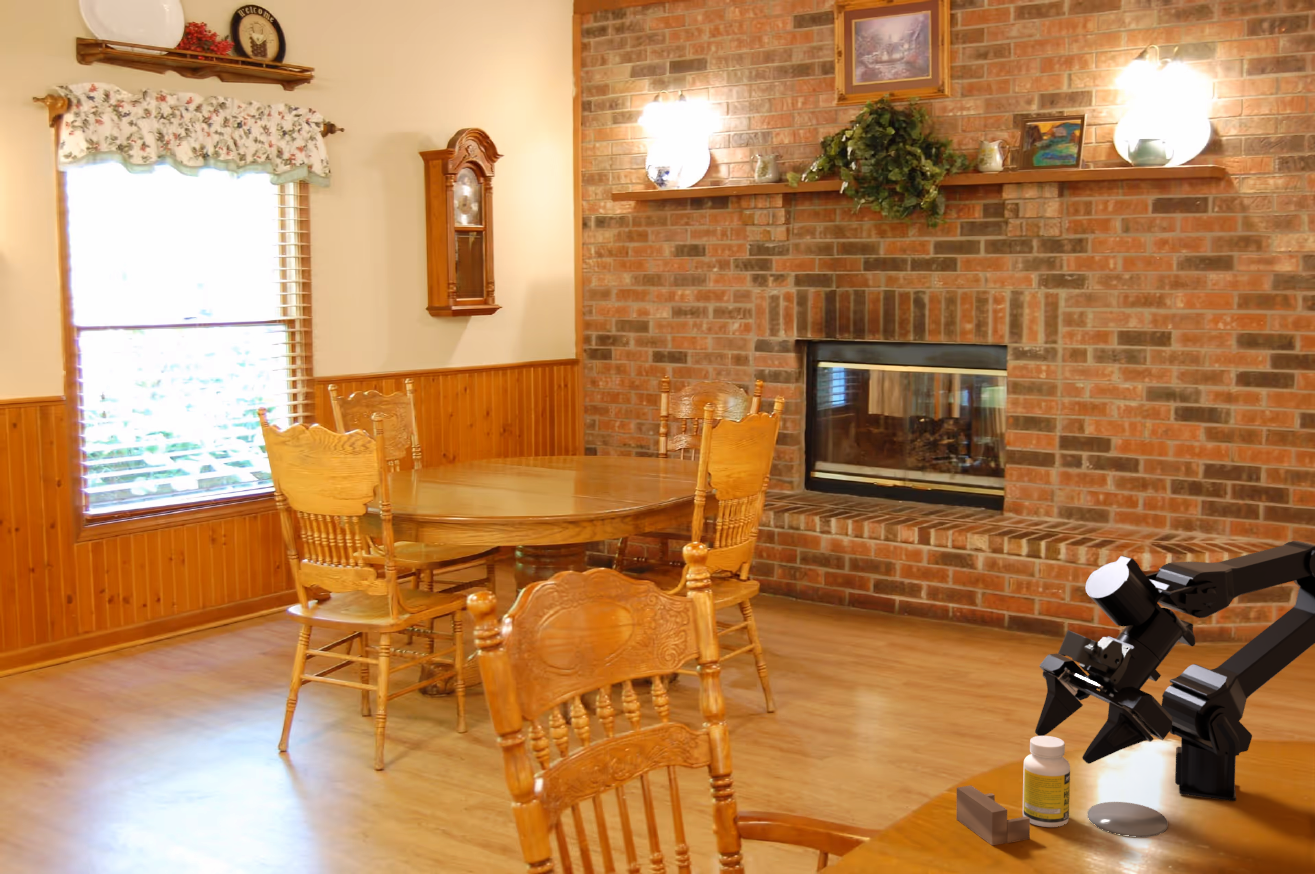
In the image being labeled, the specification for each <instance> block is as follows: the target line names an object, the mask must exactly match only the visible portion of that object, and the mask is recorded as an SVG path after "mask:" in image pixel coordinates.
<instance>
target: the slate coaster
mask: <svg viewBox="0 0 1315 874" xmlns="http://www.w3.org/2000/svg"><path fill="white" fill-rule="evenodd" d="M1087 810H1088V811H1087V819H1088V818H1089V820H1090V821H1091V822H1092V823H1093V824H1095V825H1096V826H1097V827H1096V826H1095V827H1096V828H1098V827H1099V828H1098V829H1100V830H1102V829H1103V830H1102V831H1103V832H1104V831H1105V832H1107V831H1109V832H1108V833H1110V832H1111V833H1110V834H1113V833H1116V834H1115V835H1117V834H1120V835H1119V836H1123V835H1129V836H1128V837H1130V836H1136V837H1135V838H1144V837H1145V838H1146V837H1154V836H1157V835H1161V834H1163V833H1164V832H1165V831H1166V830H1167V829H1168V819H1167V817H1166V816H1165V815H1164V814H1163V813H1161V812H1159V811H1158V810H1156V809H1154V808H1151V807H1149V806H1145V805H1141V804H1138V803H1133V802H1126V801H1107V802H1106V801H1105V802H1100V803H1097V804H1095V805H1093V806H1091V807H1090V808H1089V809H1087ZM1089 820H1088V821H1089ZM1090 821H1089V822H1090ZM1091 822H1090V823H1091ZM1092 823H1091V824H1092ZM1093 824H1092V825H1093ZM1160 833H1161V834H1160Z"/></svg>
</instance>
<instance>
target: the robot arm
mask: <svg viewBox="0 0 1315 874" xmlns="http://www.w3.org/2000/svg"><path fill="white" fill-rule="evenodd" d="M1290 582H1293V583H1294V584H1295V585H1296V586H1298V587H1299V588H1298V590H1297V595H1296V600H1295V604H1294V606H1293V607H1291V608H1290V609H1289V610H1288V611H1287V612H1285V613H1284V614H1283V615H1281V617H1279V618H1278V619H1277V620H1275V621H1274V622H1273V623H1271V624H1270V625H1269V626H1268V627H1267V628H1265V629H1264V630H1262V631H1261V632H1260V633H1259V634H1257V635H1256V636H1255V637H1254V638H1252V639H1251V640H1250V641H1248V643H1247V644H1245V645H1244V646H1243V647H1241V648H1239V650H1238V651H1236V652H1235V653H1234V654H1232V655H1231V656H1230V657H1229V658H1227V659H1225V661H1223V662H1222V663H1221V664H1220V665H1218V666H1216V668H1212V669H1210V668H1206V667H1204V666H1202V665H1200V664H1196V663H1194V664H1191V665H1189V666H1187V668H1186V669H1185V670H1183V672H1182V673H1180V674H1179V675H1178V676H1177V677H1175V678H1171V679H1169V683H1171V684H1170V685H1169V686H1167V688H1166V689H1165V690H1164V692H1163V693H1162V696H1161V697H1162V700H1161V703H1159V701H1158V700H1157V699H1156V698H1155V697H1154V696H1153V695H1152V694H1150V693H1148V692H1145V691H1144V690H1141V689H1142V688H1143V686H1144V685H1145V684H1146V683H1147V681H1148V680H1151V681H1153V682H1157V681H1158V680H1159V679H1160V678H1161V676H1162V675H1161V673H1160V672H1159V671H1157V669H1158V667H1159V666H1160V665H1161V663H1162V662H1164V659H1166V658H1167V656H1168V655H1169V653H1170V652H1171V651H1172V650H1173V648H1174V647H1175V646H1176V644H1177V643H1181V644H1183V645H1186V646H1189V647H1194V646H1196V637H1195V634H1194V624H1193V623H1191V622H1188V621H1186V620H1183V619H1180V617H1178V616H1177V614H1176V613H1174V611H1177V612H1178V613H1179V612H1180V613H1183V614H1185V615H1188V616H1192V617H1195V618H1198V619H1203V618H1205V619H1206V618H1208V617H1210V616H1213V615H1215V614H1216V613H1218V612H1221V611H1222V610H1224V609H1227V608H1228V607H1229V606H1230V605H1231V603H1232V601H1233V600H1234V599H1236V598H1238V597H1239V596H1242V595H1246V594H1249V593H1250V594H1251V593H1253V592H1257V591H1260V590H1265V589H1269V588H1273V587H1275V586H1276V587H1277V586H1280V585H1283V584H1287V583H1290ZM1085 593H1087V595H1088V596H1089V598H1091V599H1092V601H1093V602H1094V603H1095V604H1096V605H1097V606H1098V607H1099V608H1100V610H1101V611H1102V612H1103V613H1104V614H1105V615H1106V616H1107V617H1108V618H1109V619H1110V620H1111V621H1112V622H1113V624H1115V625H1116V626H1118V627H1124V628H1123V629H1122V631H1121V632H1120V633H1119V634H1118V635H1117V637H1116V638H1114V637H1111V636H1109V635H1108V636H1102V637H1101V639H1100V640H1099V641H1096V640H1093V639H1091V638H1088V637H1086V636H1084V635H1081V634H1079V633H1076V632H1074V631H1071V630H1069V629H1068V630H1067V631H1066V633H1065V636H1064V638H1063V641H1062V643H1061V645H1060V648H1059V650H1058V653H1057V652H1056V653H1049V654H1047V655H1046V657H1045V658H1044V659H1043V661H1041V663H1040V664H1039V669H1041V670H1042V671H1043V672H1042V677H1043V678H1044V679H1045V682H1046V688H1047V691H1046V696H1045V699H1044V704H1043V706H1042V709H1041V711H1040V712H1041V713H1040V716H1039V717H1038V721H1037V724H1036V727H1035V730H1034V733H1035V734H1036V736H1047V734H1049V733H1050V732H1052V731H1053V730H1055V728H1057V727H1059V725H1060V724H1062V723H1063V722H1064V721H1066V720H1067V719H1069V717H1071V716H1072V715H1073V714H1074V713H1076V712H1077V711H1078V710H1079V709H1081V708H1082V707H1083V706H1084V704H1083V703H1082V702H1081V701H1083V700H1085V699H1088V698H1089V697H1090V696H1092V697H1094V698H1096V699H1099V700H1101V701H1103V702H1105V703H1107V704H1108V711H1107V713H1108V714H1107V719H1106V721H1105V723H1104V724H1103V726H1102V727H1101V728H1100V730H1099V731H1098V732H1097V734H1096V735H1095V737H1094V738H1093V739H1092V741H1091V742H1090V744H1089V745H1088V746H1087V748H1086V750H1085V752H1084V753H1083V755H1082V760H1083V761H1084V762H1085V763H1086V764H1092V763H1094V762H1097V761H1099V760H1101V759H1104V758H1106V757H1107V756H1110V755H1113V754H1115V753H1117V752H1119V751H1121V750H1123V749H1126V748H1129V747H1133V746H1135V745H1137V744H1141V743H1142V742H1145V741H1148V742H1152V741H1153V740H1154V737H1155V738H1157V739H1159V740H1161V741H1164V739H1165V738H1166V737H1167V736H1168V735H1169V733H1170V734H1171V735H1174V736H1177V737H1179V738H1181V739H1180V740H1181V741H1180V742H1181V743H1180V746H1176V747H1175V769H1174V770H1175V776H1174V778H1175V779H1174V781H1175V782H1174V783H1175V784H1176V785H1178V794H1179V795H1182V796H1191V797H1198V798H1204V799H1205V798H1207V799H1214V800H1221V801H1230V802H1235V801H1236V800H1237V795H1236V794H1237V793H1236V785H1235V784H1236V781H1235V780H1236V758H1237V756H1240V753H1244V752H1248V750H1249V749H1250V745H1251V741H1252V738H1253V734H1252V733H1251V732H1250V731H1249V730H1248V729H1247V727H1245V725H1244V724H1242V723H1241V720H1242V718H1243V716H1244V712H1245V707H1246V704H1247V699H1248V698H1249V697H1250V696H1252V695H1253V694H1254V693H1255V692H1256V691H1258V690H1259V689H1260V688H1261V687H1263V686H1264V685H1266V683H1268V682H1269V681H1270V680H1272V678H1274V677H1275V676H1276V675H1277V674H1279V673H1280V672H1282V670H1284V669H1285V668H1286V667H1287V666H1289V665H1290V664H1291V663H1293V662H1294V661H1295V660H1296V659H1297V658H1299V657H1300V656H1301V655H1302V654H1303V653H1305V652H1306V651H1307V650H1309V649H1311V647H1312V646H1314V645H1315V544H1312V543H1309V542H1304V541H1302V540H1301V541H1300V540H1292V541H1288V542H1285V543H1284V544H1283V545H1280V546H1275V547H1271V548H1269V549H1264V550H1260V551H1255V552H1253V553H1249V554H1245V555H1241V556H1238V557H1234V558H1233V557H1232V558H1229V559H1225V560H1221V561H1219V562H1207V561H1206V562H1204V561H1203V562H1202V561H1176V562H1175V561H1174V562H1168V563H1166V564H1163V565H1162V566H1161V567H1159V569H1158V571H1156V572H1151V573H1148V574H1145V572H1143V570H1142V569H1141V568H1140V565H1139V563H1137V561H1136V560H1135V559H1134V558H1133V557H1129V556H1125V555H1120V557H1118V559H1117V560H1116V561H1114V562H1110V563H1106V564H1104V565H1102V566H1100V567H1099V568H1098V569H1097V570H1093V571H1092V573H1091V574H1090V575H1089V577H1088V579H1087V580H1086V583H1085ZM1160 605H1161V606H1160ZM1069 657H1070V658H1069ZM1077 663H1078V664H1077ZM1086 673H1087V674H1086Z"/></svg>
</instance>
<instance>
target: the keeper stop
mask: <svg viewBox="0 0 1315 874" xmlns="http://www.w3.org/2000/svg"><path fill="white" fill-rule="evenodd" d="M995 800H996V797H995V794H994V793H992V792H991V793H983V792H982V791H980V790H978V789H977V788H975V787H974V786H973V785H965V786H964V785H963V786H960V787H959V786H957V787H956V820H957V821H958V822H960V823H961V824H962V825H964V826H965V827H966V828H968V829H969V830H970V831H972V832H973V833H974V834H976V835H977V836H979V838H981V839H983V840H984V841H985V842H987V843H988V844H990V846H997V845H1002V844H1003V845H1004V844H1010V843H1015V842H1019V841H1026V840H1030V834H1031V833H1030V831H1031V830H1030V829H1031V825H1030V824H1031V823H1030V818H1028V817H1027V816H1026V817H1023V816H1021V817H1017V818H1011V819H1008V809H1007V808H1006V807H1004V806H1002V805H1000V803H998V802H996V801H995Z"/></svg>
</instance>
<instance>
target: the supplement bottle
mask: <svg viewBox="0 0 1315 874" xmlns="http://www.w3.org/2000/svg"><path fill="white" fill-rule="evenodd" d="M1029 740H1030V741H1029V752H1030V754H1028V755H1027V756H1026V757H1025V758H1024V760H1023V772H1022V773H1023V774H1022V775H1023V780H1022V781H1023V783H1022V817H1026V816H1027V817H1028V818H1030V824H1032V825H1034V826H1039V827H1044V828H1059V827H1063V826H1065V825H1067V823H1068V822H1069V820H1070V796H1071V795H1070V794H1071V793H1070V791H1071V790H1070V789H1071V788H1070V787H1071V765H1070V763H1069V760H1068V759H1066V757H1064V756H1065V751H1066V746H1065V745H1066V743H1065V741H1064V740H1063V739H1061V738H1059V737H1055V736H1050V735H1045V736H1038V735H1035V736H1033V737H1031V738H1030V739H1029ZM1064 824H1065V825H1064ZM1058 826H1059V827H1058Z"/></svg>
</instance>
